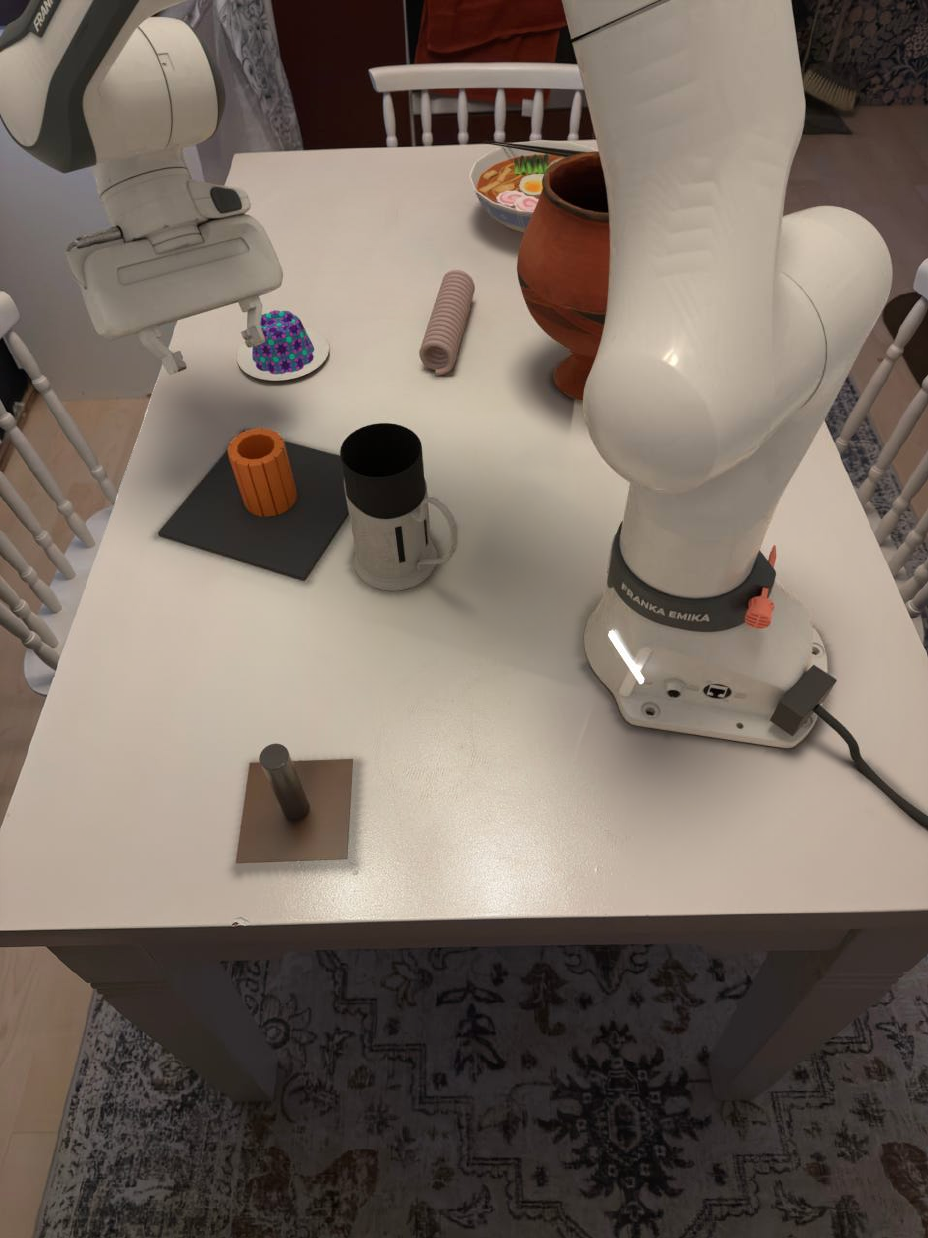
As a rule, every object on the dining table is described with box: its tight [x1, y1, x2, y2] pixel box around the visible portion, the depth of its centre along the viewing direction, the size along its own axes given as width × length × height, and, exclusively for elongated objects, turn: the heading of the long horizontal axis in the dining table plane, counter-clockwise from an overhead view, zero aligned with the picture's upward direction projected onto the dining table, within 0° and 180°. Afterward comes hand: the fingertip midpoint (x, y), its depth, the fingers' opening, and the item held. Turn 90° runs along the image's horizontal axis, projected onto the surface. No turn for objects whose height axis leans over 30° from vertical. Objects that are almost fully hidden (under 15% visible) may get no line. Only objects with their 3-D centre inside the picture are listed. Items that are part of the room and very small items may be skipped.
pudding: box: [236, 310, 330, 382], centre depth 108 cm, size 12×12×5 cm
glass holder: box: [339, 422, 459, 592], centre depth 81 cm, size 9×14×15 cm, turn 43°
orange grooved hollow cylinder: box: [227, 427, 297, 517], centre depth 90 cm, size 6×6×8 cm
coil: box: [418, 269, 476, 376], centre depth 110 cm, size 5×5×18 cm
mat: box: [157, 429, 349, 582], centre depth 93 cm, size 18×18×1 cm
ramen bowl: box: [468, 139, 599, 234], centre depth 126 cm, size 25×23×8 cm
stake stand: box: [235, 743, 354, 864], centre depth 66 cm, size 9×9×10 cm
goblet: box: [516, 151, 610, 402], centre depth 95 cm, size 19×19×25 cm
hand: (218, 358), depth 86 cm, fingers open, 8 cm apart
